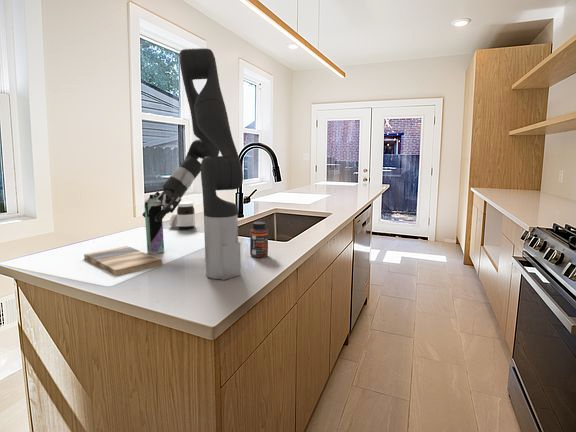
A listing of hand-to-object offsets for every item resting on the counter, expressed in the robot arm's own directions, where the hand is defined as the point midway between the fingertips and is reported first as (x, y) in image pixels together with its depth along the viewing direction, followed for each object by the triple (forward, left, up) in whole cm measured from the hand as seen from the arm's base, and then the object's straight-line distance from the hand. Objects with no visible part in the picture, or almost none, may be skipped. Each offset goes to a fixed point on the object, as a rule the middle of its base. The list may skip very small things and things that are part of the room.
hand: (150, 218), depth 126 cm
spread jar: (+28, -29, -12) cm, 42 cm away
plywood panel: (-3, +12, -12) cm, 17 cm away
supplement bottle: (-30, -22, -12) cm, 39 cm away
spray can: (0, -1, -12) cm, 12 cm away
